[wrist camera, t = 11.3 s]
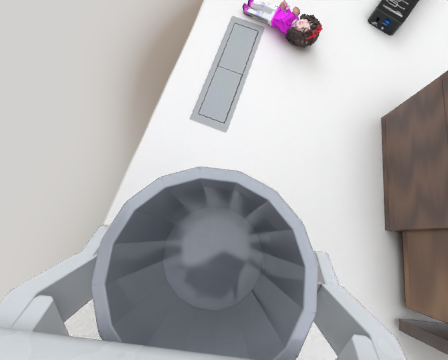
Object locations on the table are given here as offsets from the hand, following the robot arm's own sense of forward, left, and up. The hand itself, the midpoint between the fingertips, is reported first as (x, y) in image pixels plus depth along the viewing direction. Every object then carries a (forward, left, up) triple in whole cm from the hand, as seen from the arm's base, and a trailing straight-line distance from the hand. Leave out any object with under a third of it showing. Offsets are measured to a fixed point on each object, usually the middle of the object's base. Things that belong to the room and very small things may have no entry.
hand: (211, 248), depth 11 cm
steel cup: (-1, 0, -4) cm, 4 cm away
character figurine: (+32, -6, -21) cm, 39 cm away
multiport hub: (+40, -25, -21) cm, 52 cm away
